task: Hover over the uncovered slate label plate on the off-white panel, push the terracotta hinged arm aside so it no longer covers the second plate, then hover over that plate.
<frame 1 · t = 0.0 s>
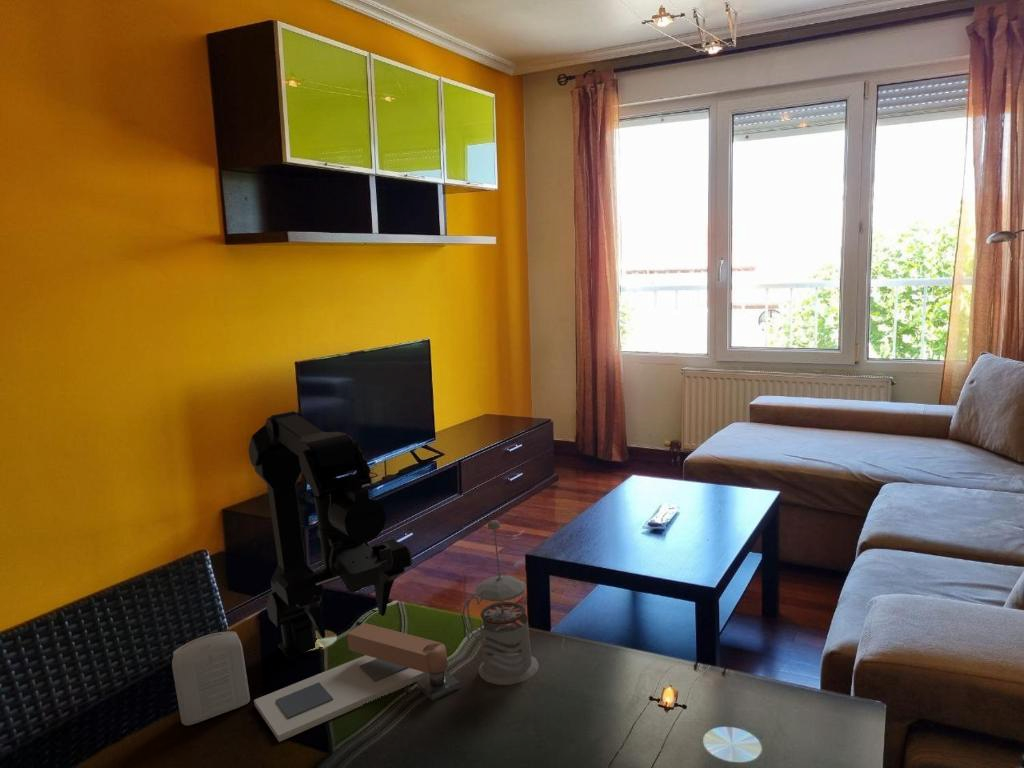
hand: (353, 625, 109), 15 cm above the table, tool pointing down, fingers open, 9 cm apart
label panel: (347, 688, 120), on the table
cable arm: (398, 647, 121), point 5 cm above the table, hinge at 0.0°
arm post: (438, 687, 117), on the table
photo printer: (217, 712, 117), on the table
french press: (503, 668, 122), on the table
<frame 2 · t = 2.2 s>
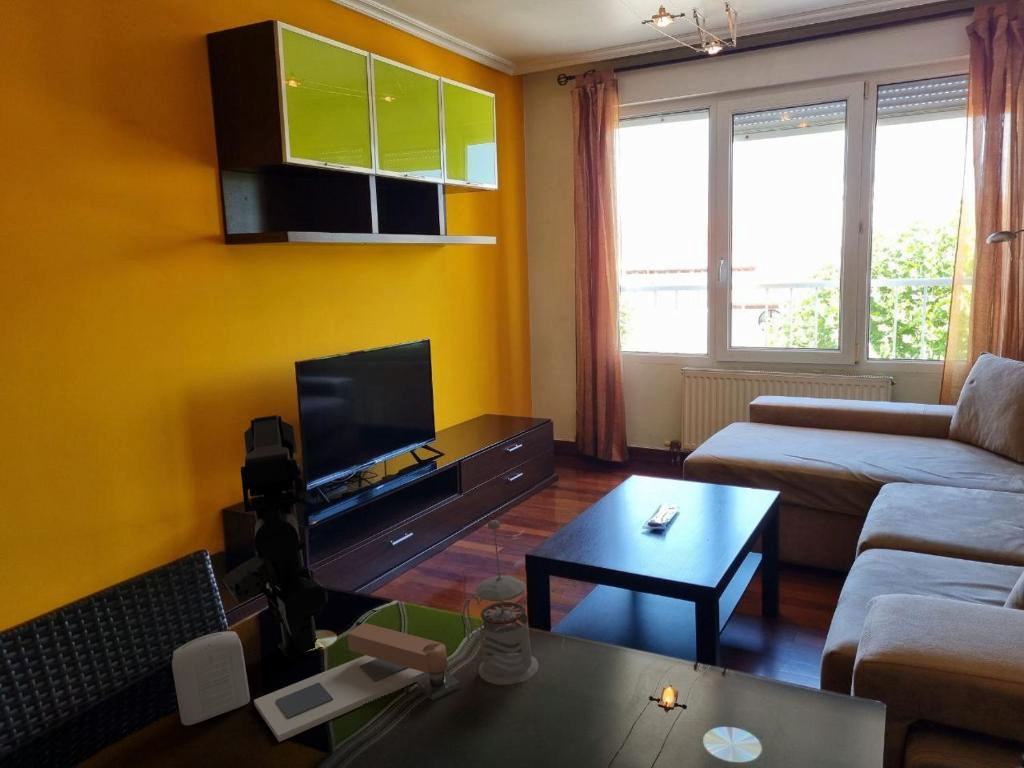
hand: (294, 634, 114), 12 cm above the table, tool pointing down, fingers closed
nothing on the table moved.
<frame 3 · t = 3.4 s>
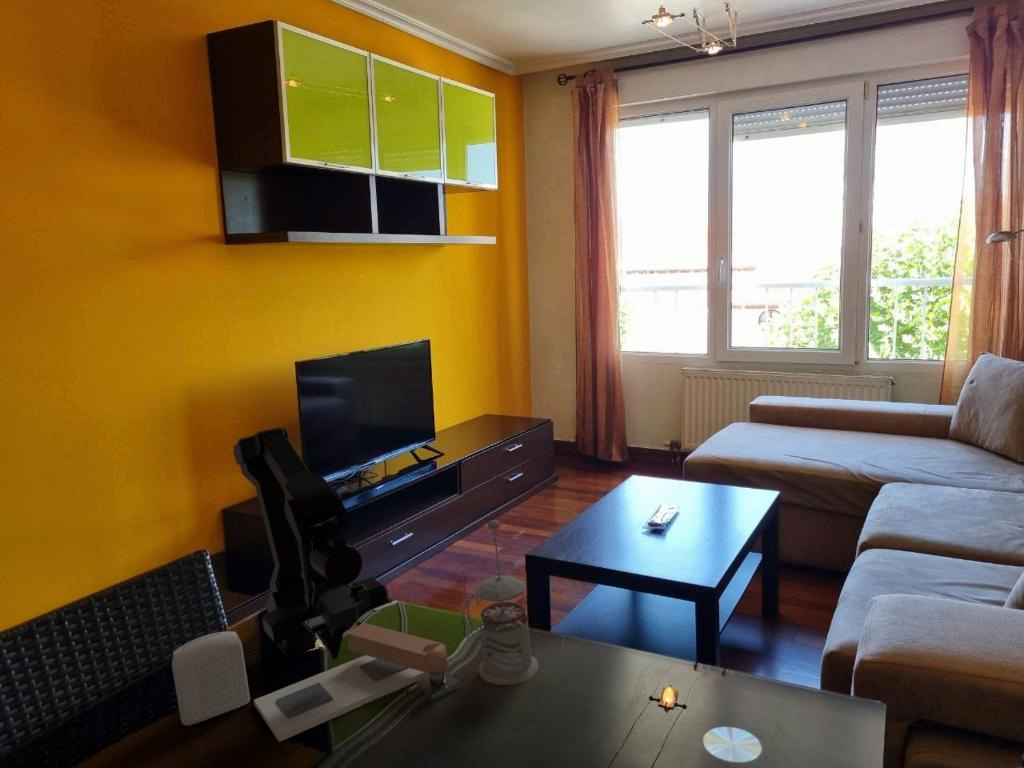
hand: (334, 657, 119), 5 cm above the table, tool pointing down, fingers closed
nothing on the table moved.
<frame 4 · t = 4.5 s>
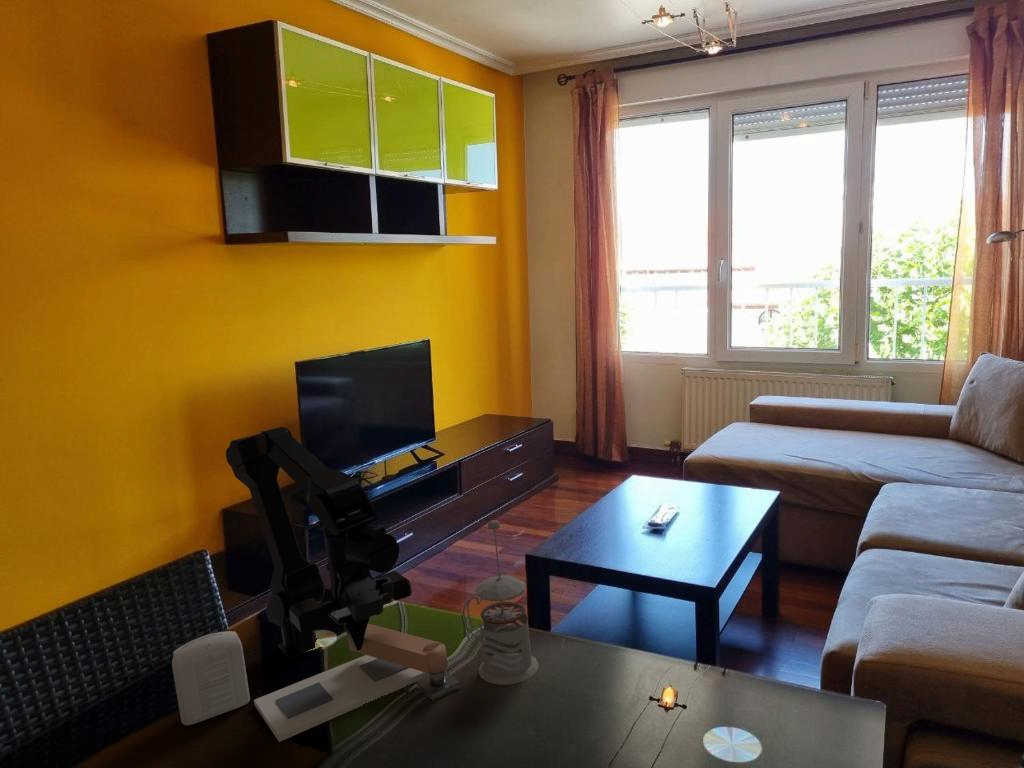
hand: (358, 649, 121), 5 cm above the table, tool pointing down, fingers closed
cable arm: (398, 647, 121), point 5 cm above the table, hinge at 0.3°, touching gripper
everything else where it was.
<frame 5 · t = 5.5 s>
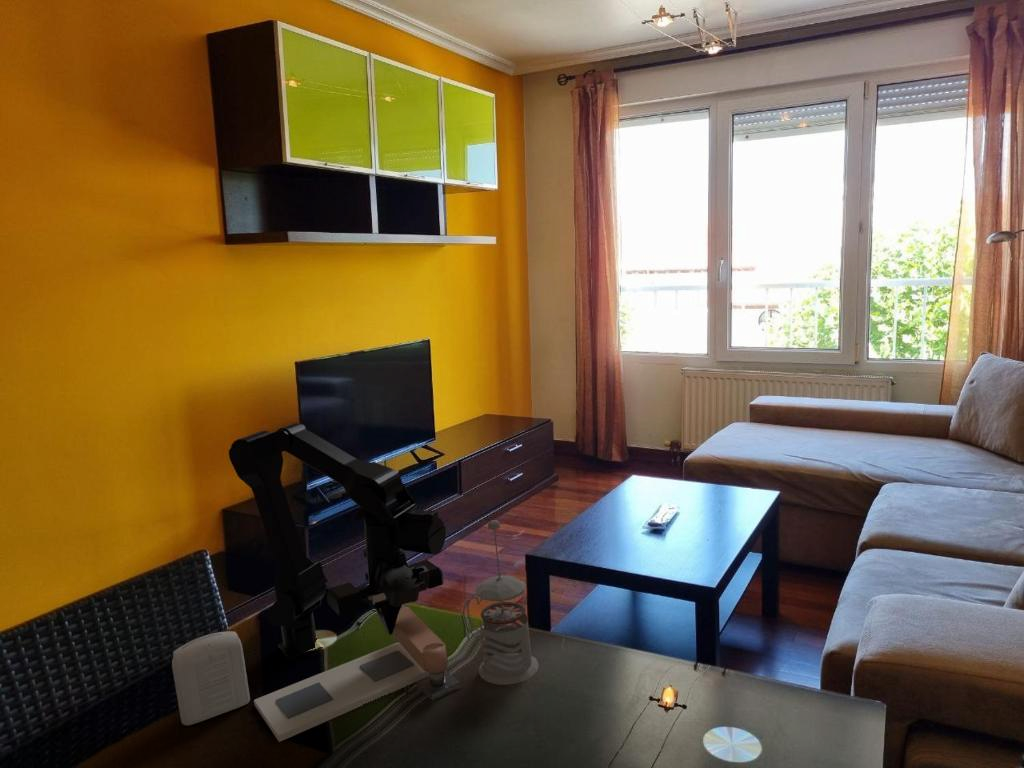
hand: (389, 633, 126), 5 cm above the table, tool pointing down, fingers closed
cable arm: (417, 638, 123), point 5 cm above the table, hinge at 28.1°, touching gripper
everything else where it was.
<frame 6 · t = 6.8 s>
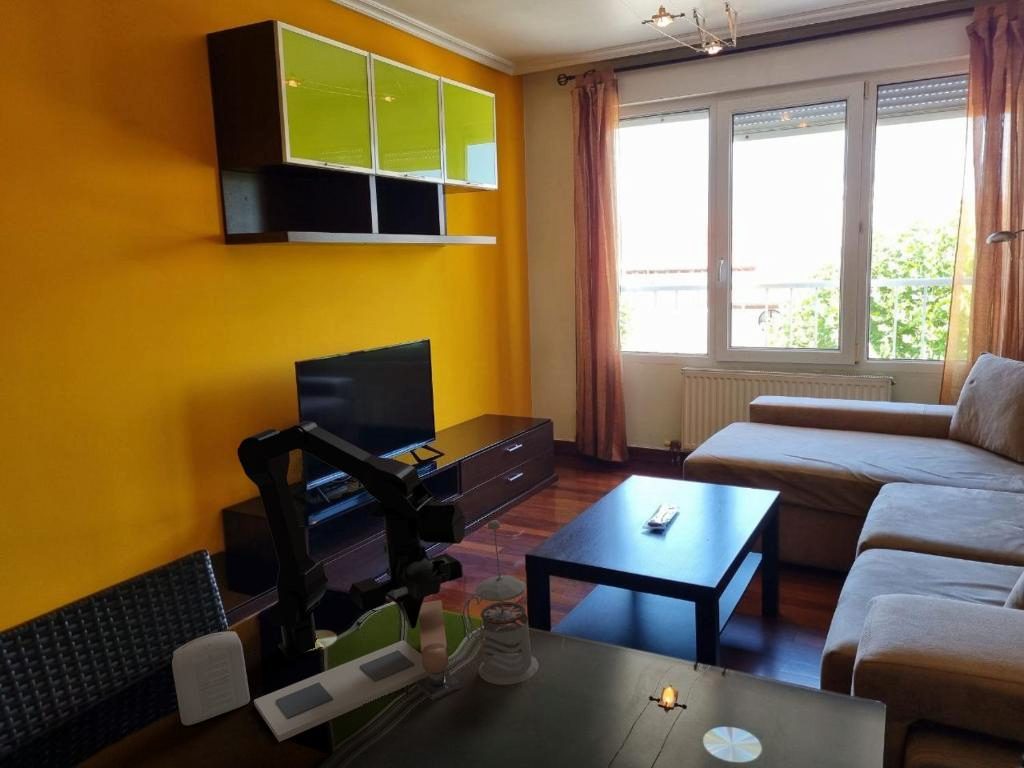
hand: (412, 627, 127), 5 cm above the table, tool pointing down, fingers closed
cable arm: (433, 634, 124), point 5 cm above the table, hinge at 48.5°, touching gripper
everything else where it was.
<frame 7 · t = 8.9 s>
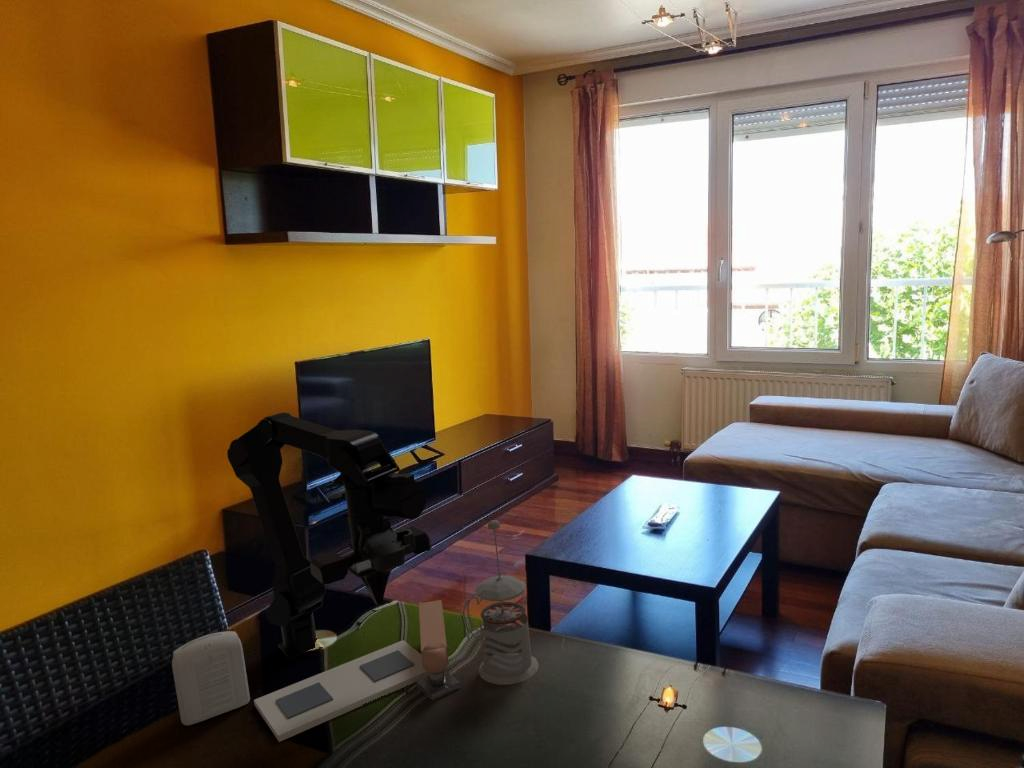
hand: (378, 603, 121), 12 cm above the table, tool pointing down, fingers closed
cable arm: (433, 634, 124), point 5 cm above the table, hinge at 48.6°
everything else where it was.
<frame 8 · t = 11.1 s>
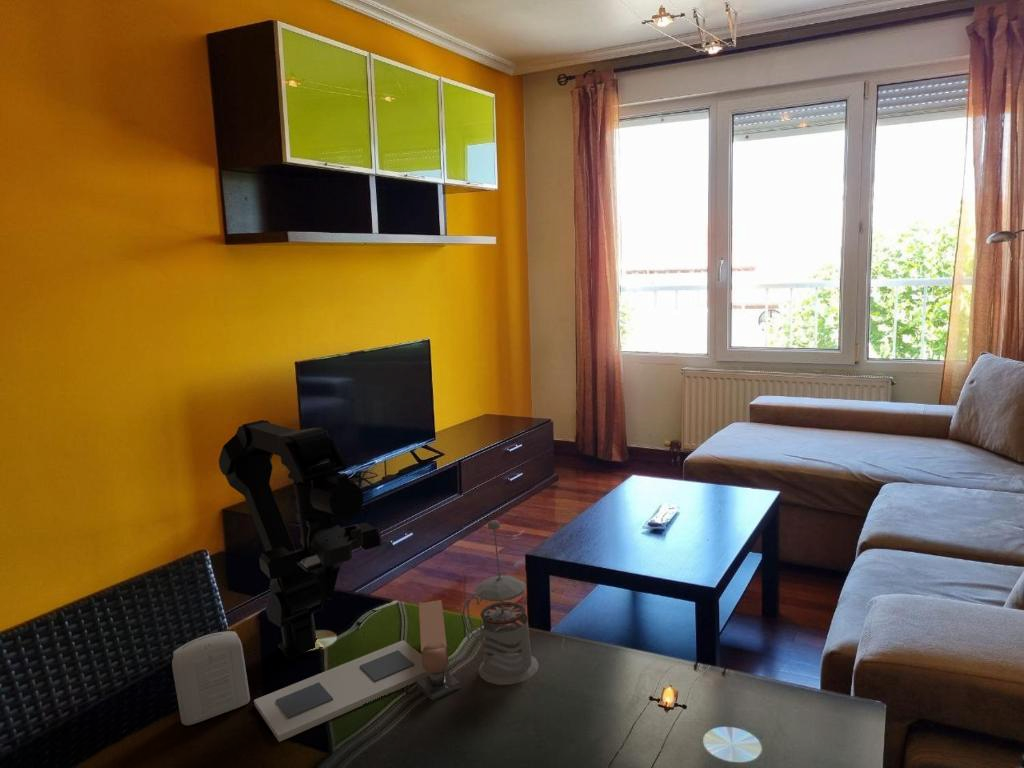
hand: (329, 598, 123), 13 cm above the table, tool pointing down, fingers closed
nothing on the table moved.
at the end: cable arm at +49° (first picture: +0°); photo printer moved 0.2 cm from its start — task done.
